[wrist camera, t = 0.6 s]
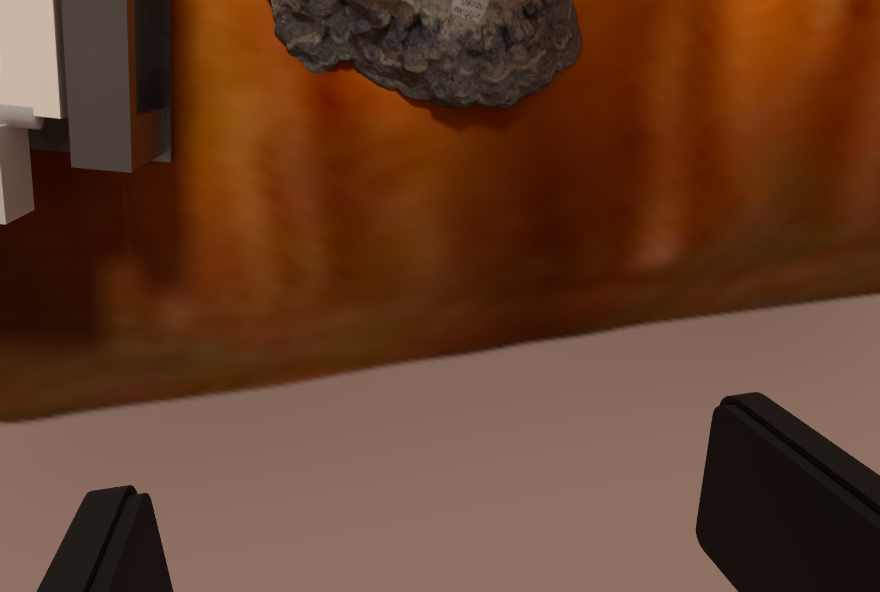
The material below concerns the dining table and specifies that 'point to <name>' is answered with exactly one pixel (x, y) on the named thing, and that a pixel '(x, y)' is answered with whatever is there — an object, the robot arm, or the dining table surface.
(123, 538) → the robot arm
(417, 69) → the grey fossil rock
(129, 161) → the trapdoor frame
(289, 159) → the dining table surface
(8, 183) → the trapdoor
